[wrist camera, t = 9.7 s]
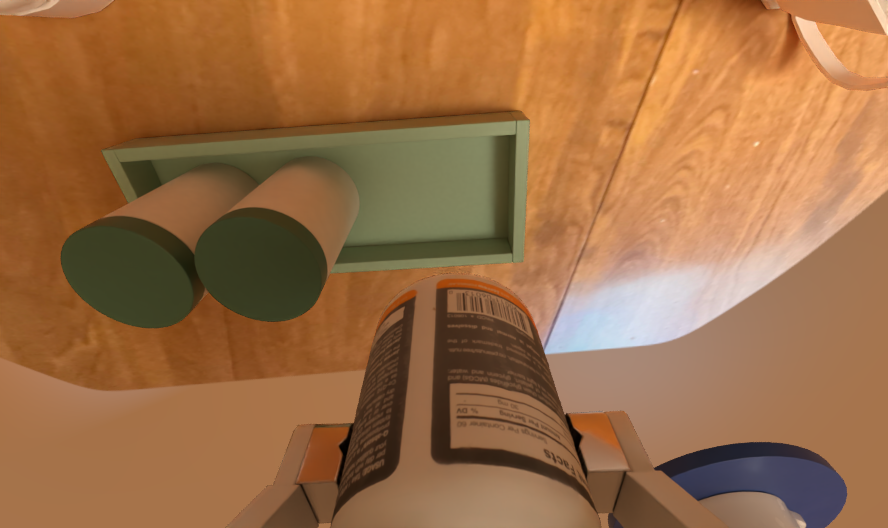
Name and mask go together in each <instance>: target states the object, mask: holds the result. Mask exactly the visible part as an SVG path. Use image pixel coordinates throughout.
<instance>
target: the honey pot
mask: <svg viewBox="0 0 888 528" xmlns="http://www.w3.org/2000/svg"><path fill="white" fill-rule="evenodd" d="M113 1H114V0H0V15H17V16H36V17H59V18H76V17H80V16H84V15H88V14H92V13H96V12H100V11H101V10H102V9H104V8H105V7H106V6H108V5H109V4H110V3H112V2H113Z"/></svg>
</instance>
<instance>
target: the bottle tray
mask: <svg viewBox="0 0 888 528" xmlns="http://www.w3.org/2000/svg"><path fill="white" fill-rule="evenodd" d="M529 130H530V120H529V119H528V118H527V117H526V116H525V115H524V114H523V113H522V112H521V111H512V112H498V113H484V114H470V115H456V116H442V117H429V118H415V119H401V120H387V121H373V122H359V123H345V124H331V125H318V126H304V127H290V128H276V129H262V130H248V131H234V132H220V133H206V134H193V135H179V136H165V137H151V138H137V139H132V140H130V141H127V142H124V143H121V144H118V145H115V146H112V147H109V148H106V149H103V150H101V152H102V154H103V156H104V158H105V160H106V162H107V163H108V165H109V167H110V169H111V171H112V173H113V175H114V177H115V179H116V181H117V183H118V184H119V186H120V188H121V190H122V192H123V194H124V196H125V198H126V200H127V202H128V203H130V202H132V201H134V200H136V199H138V198H139V197H141V196H143V195H145V194H147V193H149V192H151V191H152V190H154V189H156V188H158V187H160V186H162V185H164V184H166V183H167V182H169V181H171V180H173V179H175V178H177V177H179V176H181V175H182V174H184V173H186V172H188V171H190V170H192V169H194V168H195V167H198V166H200V165H203V164H207V163H221V164H226V165H230V166H233V167H235V168H237V169H239V170H241V171H243V172H245V173H246V174H248V175H249V176H250V177H251V178H252V179H254V180H255V181H256V182H257V184H258V185H260V184H262V183H263V182H264V181H265V180H267V179H268V178H269V177H270V176H271V175H273V174H274V173H275V172H276V171H278V170H279V169H280V168H281V167H282V166H284V165H285V164H286V163H288V162H289V161H291V160H293V159H296V158H299V157H305V156H314V157H320V158H324V159H326V160H329V161H331V162H333V163H335V164H336V165H338V166H339V167H341V168H342V169H343V170H344V171H345V172H346V173H347V174H348V175H349V176H350V178H351V179H352V180H353V182H354V184H355V186H356V188H357V191H358V194H359V201H360V206H359V212H358V215H357V218H356V220H355V222H354V224H353V226H352V228H351V230H350V232H349V234H348V236H347V239H346V241H345V243H344V245H343V247H342V249H341V251H340V253H339V255H338V258H337V260H336V262H335V264H334V266H333V268H332V270H331V272H330V273H347V272H364V271H381V270H398V269H415V268H431V267H448V266H465V265H482V264H499V263H512V262H513V263H517V262H523V261H524V241H525V219H526V196H527V174H528V152H529Z"/></svg>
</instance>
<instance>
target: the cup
mask: <svg viewBox="0 0 888 528" xmlns="http://www.w3.org/2000/svg"><path fill="white" fill-rule="evenodd" d="M761 1H762V2H763V4H764V5H765V7H766V8H767V10H768V9H778V8H781V10H782V11H785V12H787V13H790V14H791V17H792V22H793V24H794V27H795V29H796V31H797V34H798V36H799V39H800V40H801V42H802V44H803V45H804V47H805V49H806V50H807V52H808V54H809V55H810V57H811V58H812V60H813V61H814V63H815V64H816V66H817V67H818V69H819V70H820V71H821V72H822V73H823V74H824V75H825V76H826V77H827V78H828V79H829V80H830V81H831V82H832V83H834V84H836V85H839V86H841V87H843V88H845V89H848V90H863V91H868V90H875V89H881V88H888V77H877V78H865V77H862V76H860V75H858V74H855V73H853V72H851V71H848V70H847V69H846V67H845V66H844V65H843V64H842V63H841V62H840V61H839V60H838V59H837V58H836V56H835V55H834V53H833V52H832V50H831V49H830V47H829V46H828V45H827V43H826V41H825V40H824V38H823V37H822V35H821V33H820V32H819V30H818V28H817V26H816V23H815V22H819V23H825V24H831V25H836V26H842V27H847V28H851V29H856V30H860V31H865V32H871V33H876V34H882V35H888V0H761Z"/></svg>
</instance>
